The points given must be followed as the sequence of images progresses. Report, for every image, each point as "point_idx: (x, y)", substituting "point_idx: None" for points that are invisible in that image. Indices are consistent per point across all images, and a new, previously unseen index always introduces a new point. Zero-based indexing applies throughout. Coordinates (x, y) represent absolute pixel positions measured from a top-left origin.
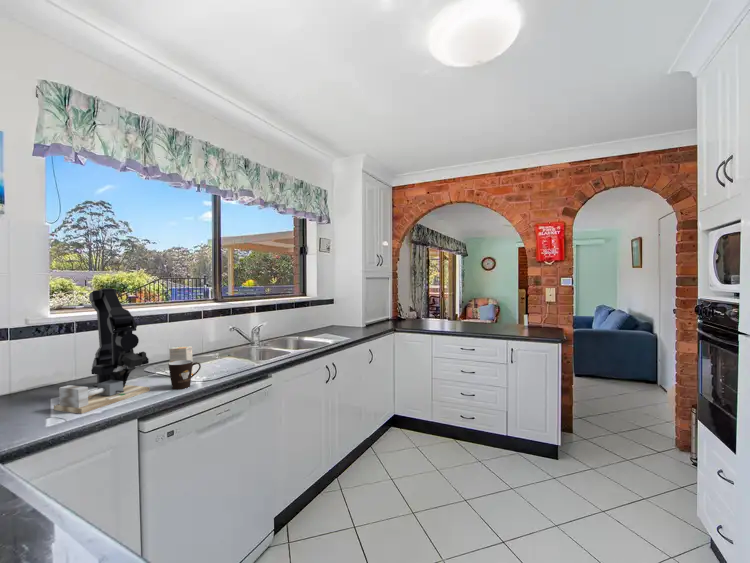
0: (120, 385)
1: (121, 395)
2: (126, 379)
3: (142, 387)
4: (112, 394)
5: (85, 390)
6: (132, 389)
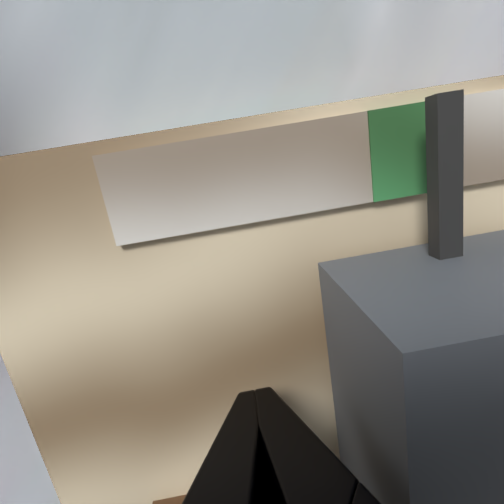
0: (421, 294)
1: None
2: (205, 491)
3: (17, 261)
4: (490, 234)
5: None
6: (160, 296)
